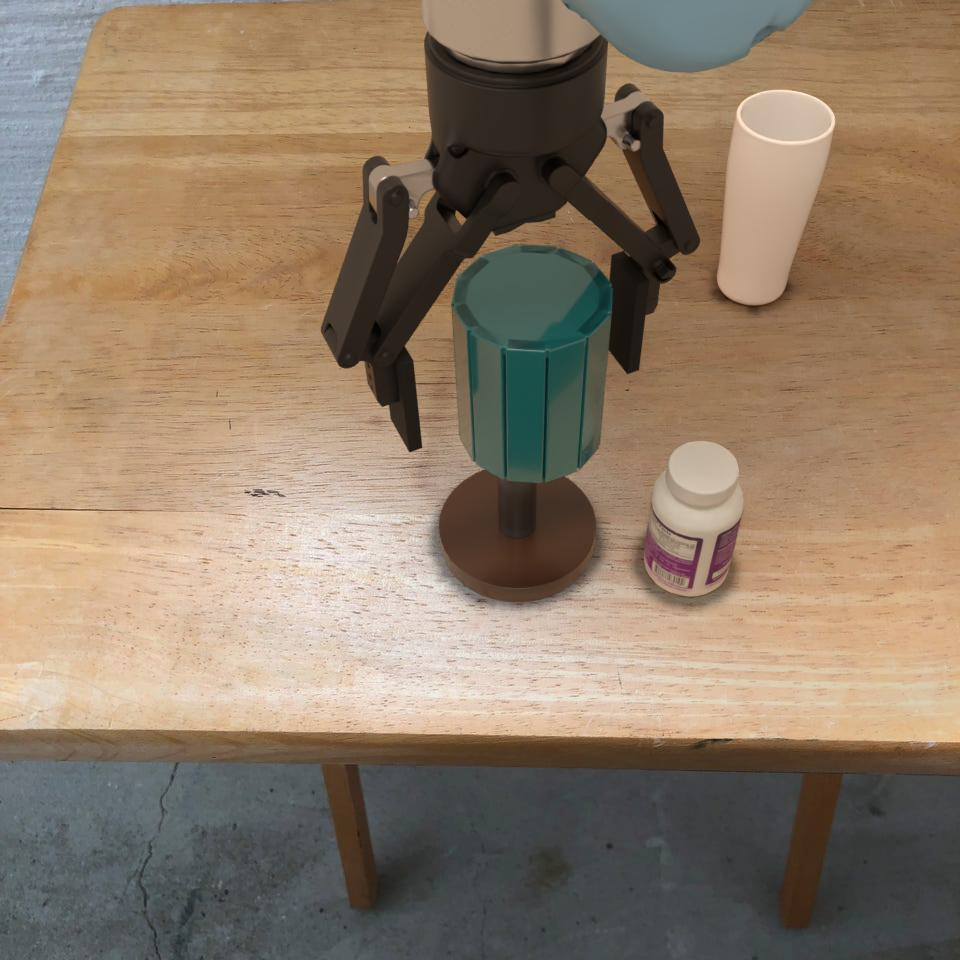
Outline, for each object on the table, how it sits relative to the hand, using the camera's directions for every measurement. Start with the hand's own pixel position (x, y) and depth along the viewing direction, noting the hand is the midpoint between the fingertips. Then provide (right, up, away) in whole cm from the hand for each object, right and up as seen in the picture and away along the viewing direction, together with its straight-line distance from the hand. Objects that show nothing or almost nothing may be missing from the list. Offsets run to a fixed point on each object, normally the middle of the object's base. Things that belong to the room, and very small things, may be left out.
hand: (516, 394), depth 61 cm
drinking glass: (+19, +10, +25) cm, 33 cm away
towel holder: (0, -8, +10) cm, 13 cm away
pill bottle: (+11, -10, +9) cm, 17 cm away
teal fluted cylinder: (+1, -2, +2) cm, 3 cm away
